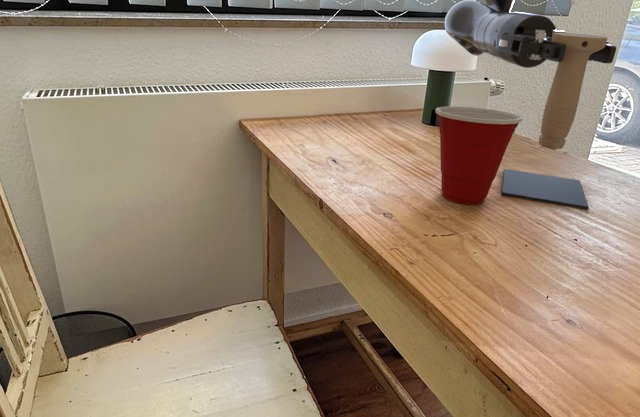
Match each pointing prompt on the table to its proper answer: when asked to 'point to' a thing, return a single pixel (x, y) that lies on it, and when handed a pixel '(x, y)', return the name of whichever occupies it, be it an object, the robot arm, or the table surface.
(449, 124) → the plastic cup
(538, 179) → the mat
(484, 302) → the table surface
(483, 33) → the robot arm
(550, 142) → the handle
